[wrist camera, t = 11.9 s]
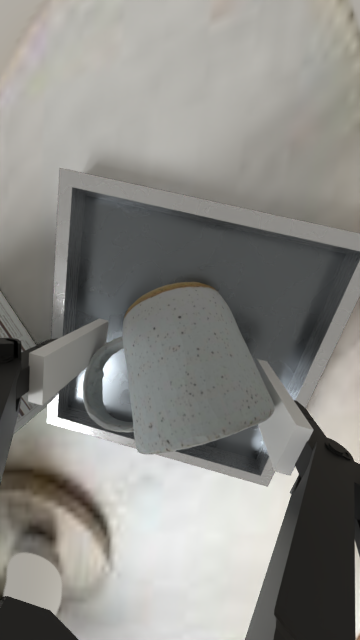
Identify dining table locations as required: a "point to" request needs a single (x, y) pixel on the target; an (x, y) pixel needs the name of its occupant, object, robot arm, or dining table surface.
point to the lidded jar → (357, 593)
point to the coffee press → (2, 600)
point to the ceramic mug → (181, 372)
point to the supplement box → (7, 325)
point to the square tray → (207, 268)
